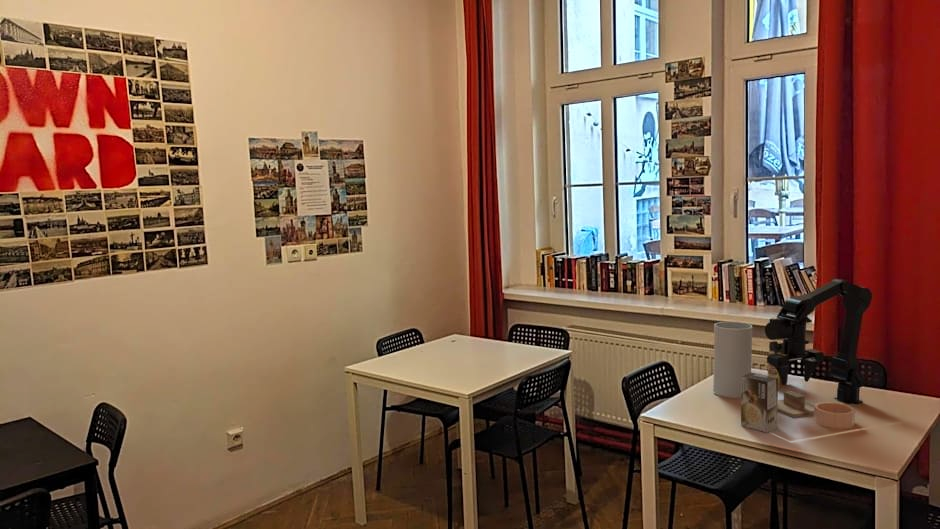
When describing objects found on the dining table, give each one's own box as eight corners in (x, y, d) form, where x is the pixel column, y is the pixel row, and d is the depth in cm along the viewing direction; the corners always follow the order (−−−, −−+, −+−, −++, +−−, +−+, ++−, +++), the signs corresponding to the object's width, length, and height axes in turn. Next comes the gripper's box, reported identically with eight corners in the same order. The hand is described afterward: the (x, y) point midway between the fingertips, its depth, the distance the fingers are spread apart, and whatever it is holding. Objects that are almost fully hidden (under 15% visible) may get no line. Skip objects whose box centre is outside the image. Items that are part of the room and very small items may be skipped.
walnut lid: (794, 400, 242) (795, 386, 241) (825, 412, 230) (825, 397, 229) (763, 405, 238) (764, 391, 237) (792, 417, 226) (793, 402, 225)
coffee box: (778, 428, 218) (779, 377, 216) (767, 433, 214) (768, 381, 212) (750, 420, 225) (751, 371, 223) (739, 425, 221) (740, 375, 219)
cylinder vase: (707, 395, 252) (708, 326, 249) (721, 386, 261) (722, 320, 258) (743, 401, 244) (744, 330, 241) (755, 392, 253) (757, 324, 250)
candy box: (778, 390, 255) (779, 348, 253) (766, 387, 258) (767, 347, 256) (788, 384, 261) (789, 344, 260) (776, 382, 264) (777, 342, 263)
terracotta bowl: (833, 415, 228) (834, 400, 227) (862, 426, 217) (862, 411, 217) (806, 420, 224) (806, 405, 224) (834, 431, 214) (834, 415, 213)
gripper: (800, 329, 241) (799, 373, 243) (755, 334, 235) (754, 380, 237) (826, 335, 231) (824, 382, 233) (779, 341, 225) (778, 389, 227)
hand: (794, 383), depth 233 cm, fingers open, 9 cm apart
